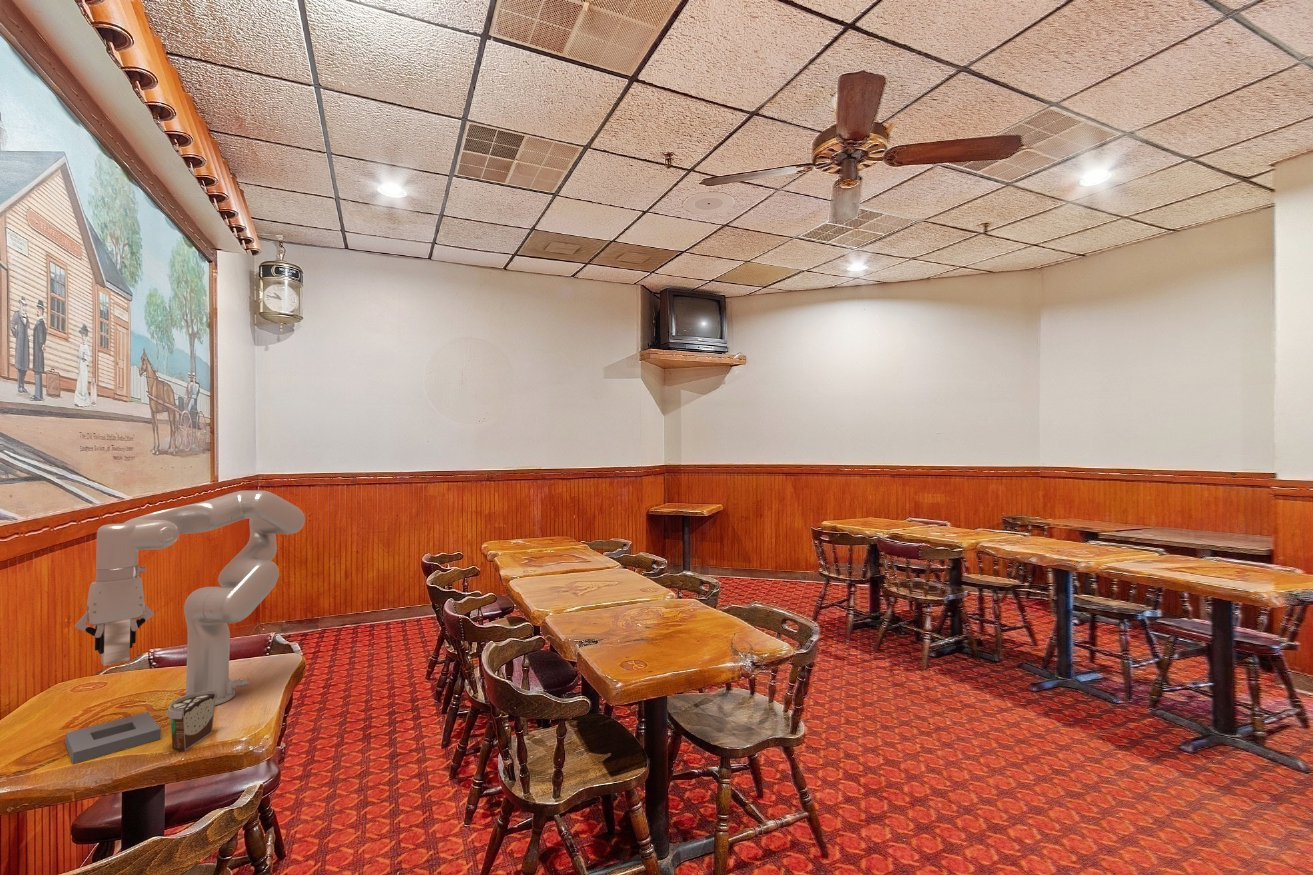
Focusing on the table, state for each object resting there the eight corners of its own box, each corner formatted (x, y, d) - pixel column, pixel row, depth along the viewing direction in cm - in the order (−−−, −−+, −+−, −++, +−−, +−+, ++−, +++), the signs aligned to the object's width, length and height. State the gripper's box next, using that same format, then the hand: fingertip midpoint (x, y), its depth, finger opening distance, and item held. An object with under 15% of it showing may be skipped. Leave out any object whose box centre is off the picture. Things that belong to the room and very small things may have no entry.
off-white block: (125, 656, 144) (126, 616, 145) (129, 660, 142) (130, 619, 142) (100, 661, 141) (101, 620, 141) (104, 665, 138) (105, 623, 138)
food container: (190, 730, 145) (191, 690, 145) (216, 729, 145) (217, 689, 146) (151, 755, 133) (153, 710, 133) (180, 754, 133) (181, 709, 134)
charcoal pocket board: (147, 721, 150) (147, 711, 150) (160, 739, 140) (160, 728, 140) (65, 743, 138) (65, 732, 139) (73, 763, 129) (73, 752, 129)
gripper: (158, 567, 151) (156, 638, 150) (66, 578, 138) (63, 656, 137) (165, 570, 146) (163, 644, 146) (70, 582, 133) (68, 662, 132)
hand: (115, 649), depth 141 cm, fingers closed on off-white block, 4 cm apart
